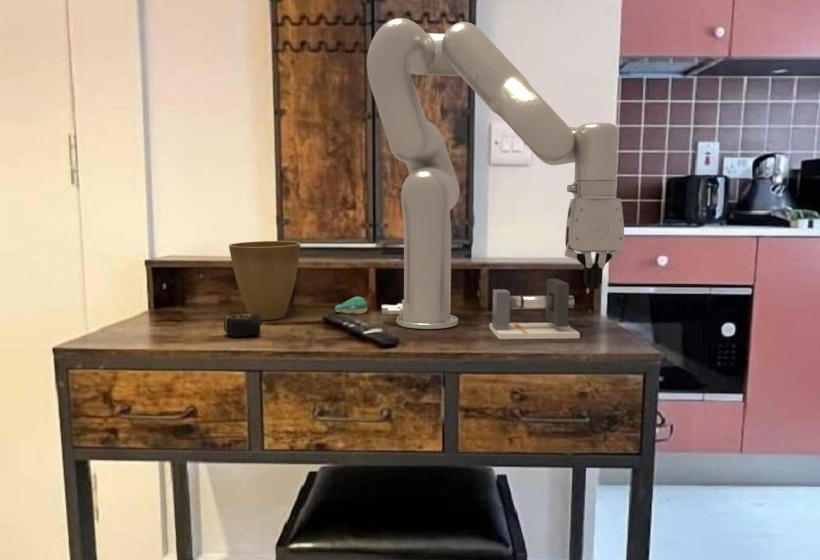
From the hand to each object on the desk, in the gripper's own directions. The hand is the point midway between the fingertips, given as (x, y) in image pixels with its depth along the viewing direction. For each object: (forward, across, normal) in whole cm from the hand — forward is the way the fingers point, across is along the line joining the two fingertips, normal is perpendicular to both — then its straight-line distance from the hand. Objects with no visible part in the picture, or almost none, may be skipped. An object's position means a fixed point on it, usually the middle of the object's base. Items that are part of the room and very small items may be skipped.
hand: (592, 287), depth 125 cm
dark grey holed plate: (+7, -7, 0) cm, 10 cm away
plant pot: (+8, -65, +19) cm, 68 cm away
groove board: (+9, -11, 0) cm, 14 cm away
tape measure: (+8, -66, +1) cm, 66 cm away
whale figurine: (+8, -47, +24) cm, 53 cm away
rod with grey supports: (+9, -11, 0) cm, 14 cm away
